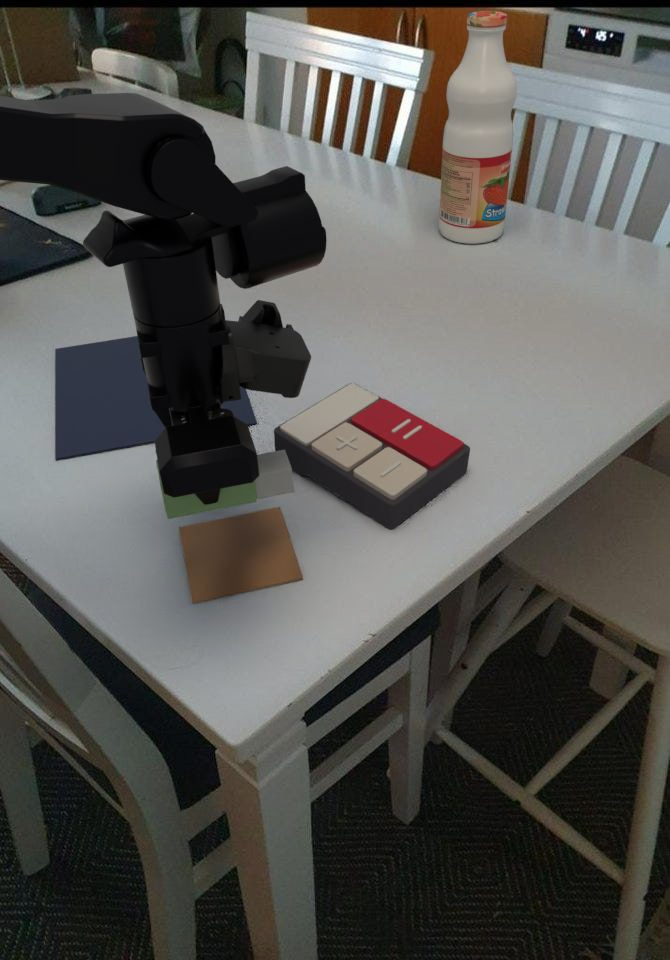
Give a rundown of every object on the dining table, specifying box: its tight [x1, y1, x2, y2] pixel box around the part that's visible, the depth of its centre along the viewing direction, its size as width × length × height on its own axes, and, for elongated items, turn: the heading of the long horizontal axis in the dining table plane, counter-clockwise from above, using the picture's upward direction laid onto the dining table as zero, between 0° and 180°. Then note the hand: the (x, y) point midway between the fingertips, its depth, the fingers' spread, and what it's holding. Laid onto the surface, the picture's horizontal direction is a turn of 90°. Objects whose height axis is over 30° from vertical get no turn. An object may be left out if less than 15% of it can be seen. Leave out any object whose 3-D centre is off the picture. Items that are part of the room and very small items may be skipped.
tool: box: [155, 450, 295, 520], centre depth 63 cm, size 10×3×4 cm, turn 105°
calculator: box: [273, 382, 471, 530], centre depth 75 cm, size 11×4×15 cm
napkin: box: [54, 335, 258, 461], centre depth 89 cm, size 20×22×1 cm
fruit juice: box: [438, 10, 518, 245], centre depth 109 cm, size 9×9×28 cm
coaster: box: [178, 506, 304, 604], centre depth 68 cm, size 9×9×1 cm
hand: (207, 488), depth 63 cm, fingers closed on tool, 3 cm apart
